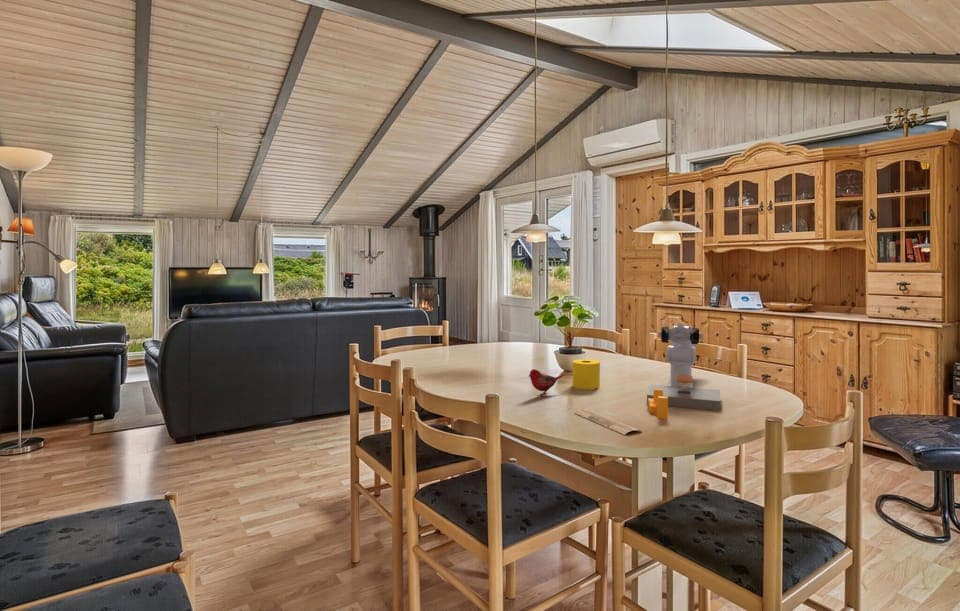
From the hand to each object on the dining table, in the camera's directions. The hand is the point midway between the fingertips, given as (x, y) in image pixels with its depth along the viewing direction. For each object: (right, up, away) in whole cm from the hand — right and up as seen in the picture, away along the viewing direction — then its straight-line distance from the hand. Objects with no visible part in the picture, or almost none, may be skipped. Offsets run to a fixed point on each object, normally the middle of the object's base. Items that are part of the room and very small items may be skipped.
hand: (678, 336), depth 179 cm
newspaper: (-30, -25, -23) cm, 45 cm away
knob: (+2, -18, 0) cm, 18 cm away
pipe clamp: (-12, -23, -14) cm, 30 cm away
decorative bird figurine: (-43, -22, +11) cm, 49 cm away
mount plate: (+2, -22, 0) cm, 22 cm away
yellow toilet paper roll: (-26, -21, +23) cm, 41 cm away
